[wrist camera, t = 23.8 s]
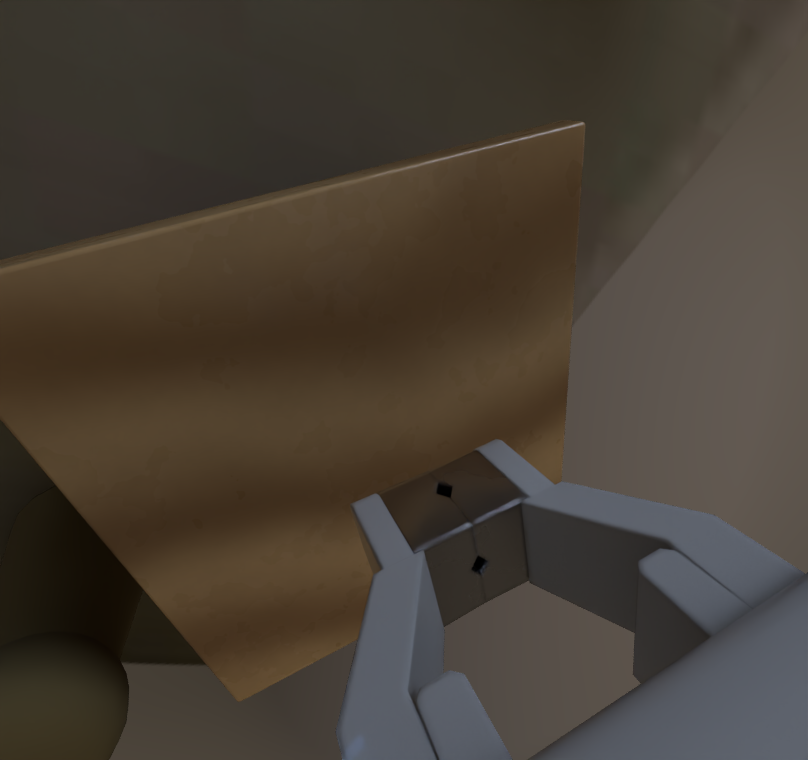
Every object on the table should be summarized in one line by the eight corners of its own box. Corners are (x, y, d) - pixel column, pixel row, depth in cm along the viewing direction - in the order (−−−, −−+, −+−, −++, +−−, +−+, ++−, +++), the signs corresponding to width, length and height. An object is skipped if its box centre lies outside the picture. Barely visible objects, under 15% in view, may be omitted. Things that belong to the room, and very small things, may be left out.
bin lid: (-86, 279, 8) (-107, 296, 7) (563, 118, 11) (588, 120, 11) (235, 680, 16) (238, 704, 16) (546, 519, 20) (558, 533, 19)
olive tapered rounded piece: (174, 486, 23) (158, 691, 14) (147, 587, 24) (115, 837, 15) (21, 472, 20) (-134, 717, 11) (0, 586, 21) (-155, 896, 12)
